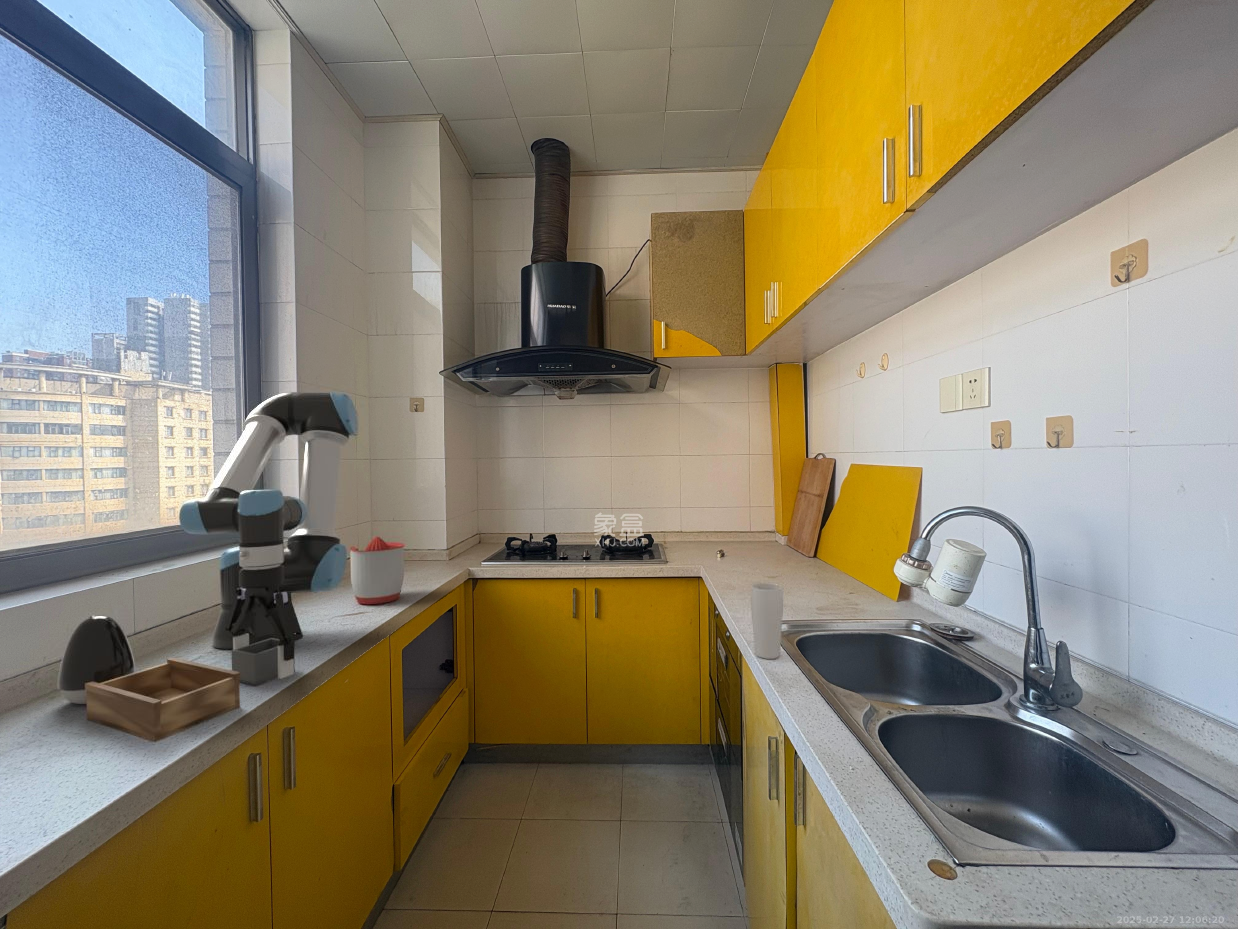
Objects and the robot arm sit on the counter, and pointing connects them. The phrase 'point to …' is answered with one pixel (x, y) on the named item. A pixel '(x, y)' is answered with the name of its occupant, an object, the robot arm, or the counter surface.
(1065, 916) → the counter surface
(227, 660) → the counter surface
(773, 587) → the drinking glass
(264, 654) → the box
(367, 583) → the citrus juicer
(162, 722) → the large crate
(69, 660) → the pump dispenser
